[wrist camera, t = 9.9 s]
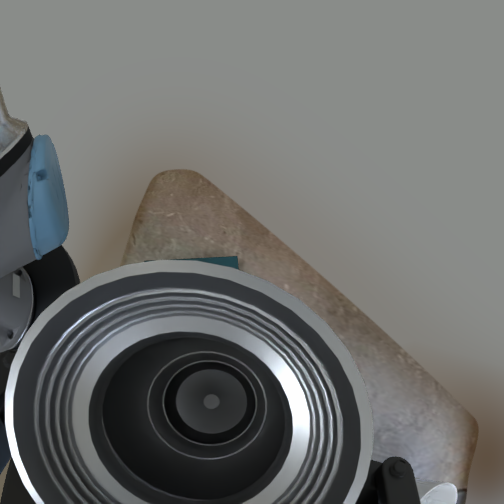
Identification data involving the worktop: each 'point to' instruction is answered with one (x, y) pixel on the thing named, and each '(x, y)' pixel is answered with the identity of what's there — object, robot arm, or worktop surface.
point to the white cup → (436, 492)
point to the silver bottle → (186, 394)
